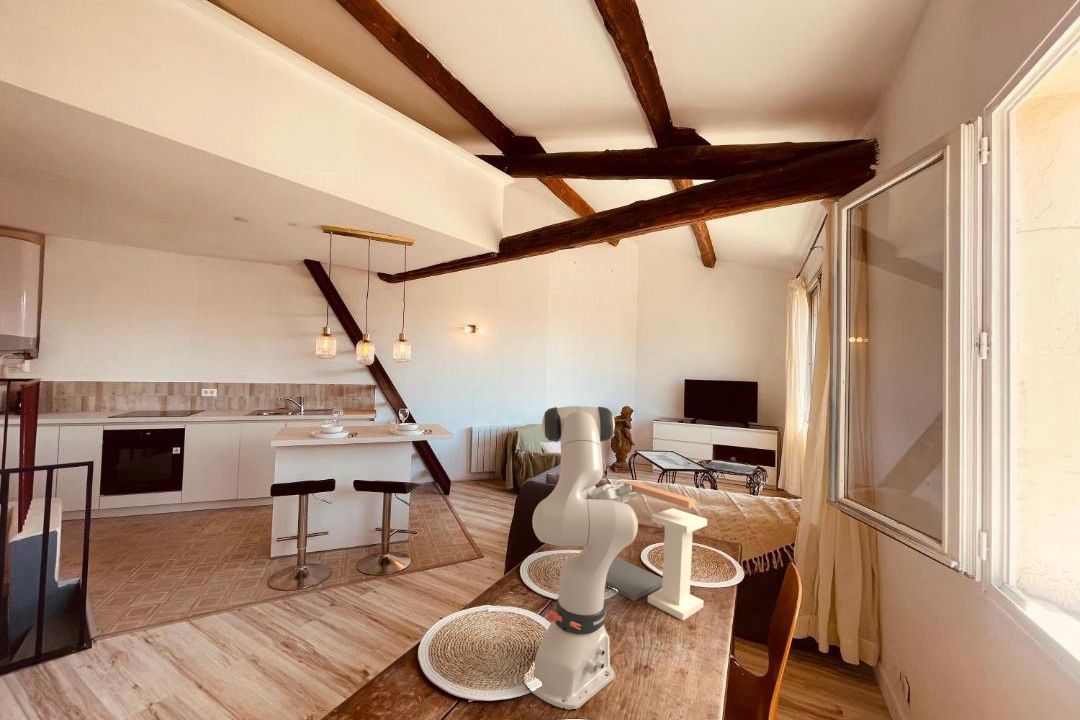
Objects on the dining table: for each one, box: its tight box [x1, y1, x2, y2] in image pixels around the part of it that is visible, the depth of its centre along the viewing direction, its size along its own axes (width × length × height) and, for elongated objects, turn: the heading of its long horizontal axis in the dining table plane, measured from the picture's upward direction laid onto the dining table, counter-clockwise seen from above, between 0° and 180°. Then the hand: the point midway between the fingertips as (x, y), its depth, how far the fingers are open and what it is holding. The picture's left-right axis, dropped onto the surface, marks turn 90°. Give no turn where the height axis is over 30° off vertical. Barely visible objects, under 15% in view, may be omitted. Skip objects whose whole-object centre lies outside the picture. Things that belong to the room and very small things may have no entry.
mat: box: [605, 556, 663, 602], centre depth 148 cm, size 26×18×2 cm
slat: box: [623, 481, 697, 509], centre depth 138 cm, size 24×4×2 cm, turn 42°
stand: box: [647, 507, 708, 621], centre depth 131 cm, size 12×12×27 cm
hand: (636, 486), depth 144 cm, fingers closed on slat, 4 cm apart
